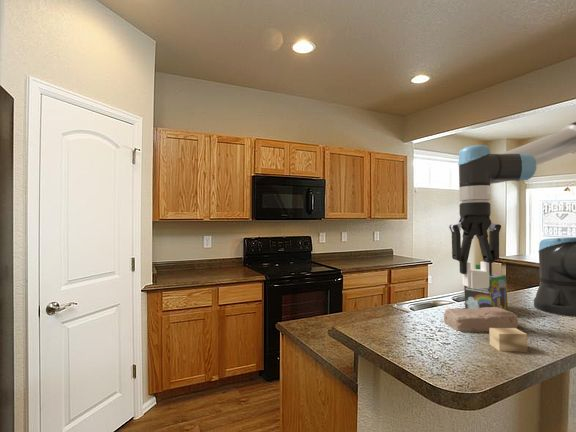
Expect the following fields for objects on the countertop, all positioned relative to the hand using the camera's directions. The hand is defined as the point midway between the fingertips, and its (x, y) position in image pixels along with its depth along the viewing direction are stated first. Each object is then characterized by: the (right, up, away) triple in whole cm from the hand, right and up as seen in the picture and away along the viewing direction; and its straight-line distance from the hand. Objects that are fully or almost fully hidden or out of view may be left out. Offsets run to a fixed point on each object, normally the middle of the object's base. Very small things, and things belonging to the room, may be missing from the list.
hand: (475, 285), depth 90 cm
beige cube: (0, 0, 0) cm, 0 cm away
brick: (+1, -12, 0) cm, 12 cm away
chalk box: (+12, -11, +15) cm, 22 cm away
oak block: (-1, -11, -15) cm, 19 cm away
